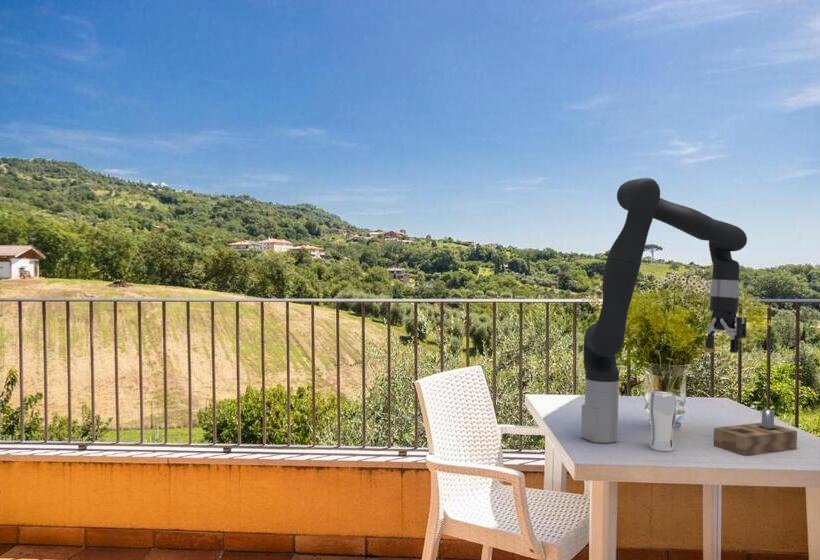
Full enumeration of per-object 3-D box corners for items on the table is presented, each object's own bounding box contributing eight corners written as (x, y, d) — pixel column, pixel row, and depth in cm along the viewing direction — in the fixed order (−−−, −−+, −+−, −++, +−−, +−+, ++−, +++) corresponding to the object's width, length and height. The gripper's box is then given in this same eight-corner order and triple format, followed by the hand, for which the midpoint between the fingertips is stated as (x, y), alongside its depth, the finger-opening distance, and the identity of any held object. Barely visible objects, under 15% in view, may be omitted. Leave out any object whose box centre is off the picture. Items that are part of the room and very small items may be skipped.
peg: (768, 447, 175) (769, 411, 175) (758, 444, 178) (759, 409, 178) (775, 446, 176) (776, 410, 176) (765, 443, 179) (766, 408, 179)
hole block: (745, 455, 166) (745, 437, 166) (713, 445, 176) (714, 427, 176) (796, 448, 174) (797, 430, 174) (763, 439, 183) (764, 422, 183)
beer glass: (652, 443, 177) (654, 390, 177) (678, 448, 173) (680, 393, 172) (644, 448, 172) (645, 393, 171) (670, 453, 167) (672, 397, 167)
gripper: (695, 293, 190) (692, 347, 190) (735, 296, 177) (732, 354, 177) (714, 294, 193) (711, 347, 193) (755, 297, 180) (751, 353, 180)
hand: (721, 350), depth 185 cm, fingers open, 8 cm apart
